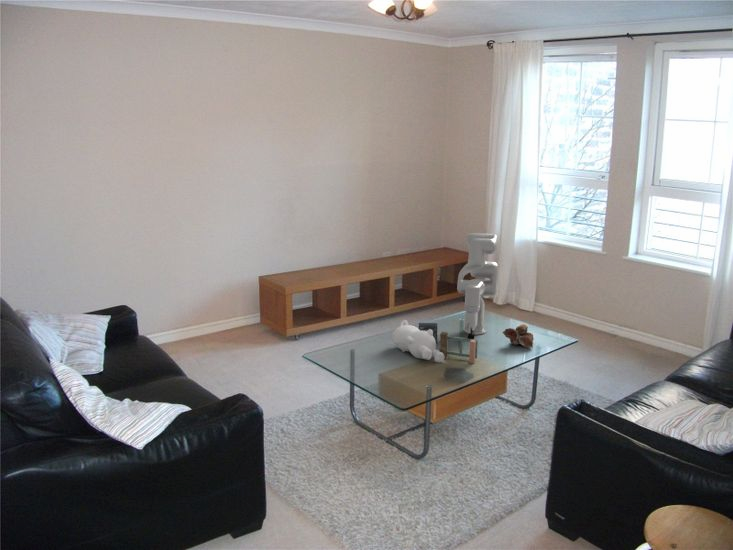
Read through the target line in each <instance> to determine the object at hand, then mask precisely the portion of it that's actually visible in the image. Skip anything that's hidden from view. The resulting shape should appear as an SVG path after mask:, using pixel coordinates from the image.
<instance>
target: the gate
mask: <svg viewBox="0 0 733 550" xmlns="http://www.w3.org/2000/svg"><path fill="white" fill-rule="evenodd" d="M448 340H450V341H451V340H452V341H459V351H452V350H447V355H451V356H458V357H463V358H464V357H465V358H469V353H465V352H463V342H465V343H466V342H467V343H470V341H471V340H476V348H475V359H477V358H478V348H479V346H478V344H479V339H475V338H474V339H469V338H468V337H459V336H453V335H448ZM448 344H449V343H448V341H447V345H448Z"/></svg>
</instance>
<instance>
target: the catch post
mask: <svg viewBox="0 0 733 550" xmlns="http://www.w3.org/2000/svg"><path fill="white" fill-rule="evenodd" d="M475 348H476V340H471V341H470V342H469V353H468V354H469V357H468V364H472V363H474V362H476V358H475ZM474 364H475V363H474Z"/></svg>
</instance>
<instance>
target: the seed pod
mask: <svg viewBox="0 0 733 550" xmlns="http://www.w3.org/2000/svg"><path fill="white" fill-rule="evenodd" d="M528 330H529V329H528V325H526V324H525V323H524V324H522V323H521V324H520V325H518V326H516V328H513V327H512V328H511V327H509V328H505V330H504V331H502V334H503V335H504V336H505V338H507V339H509V342H510V344H512V345H514V346H517V345H522V346H523V347H524V348H526V347H527V348H532V349H533V346H534V342H533V341H534V340H535V339H534V334H533V333H531V332H528Z"/></svg>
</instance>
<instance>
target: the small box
mask: <svg viewBox="0 0 733 550" xmlns="http://www.w3.org/2000/svg"><path fill="white" fill-rule="evenodd" d="M418 329H419V330H420V331H428V330H429V329H431V330H432V331H433V337H434V338H435V341H436V345H437V344H438V322H434V323H433V322H418Z"/></svg>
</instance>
